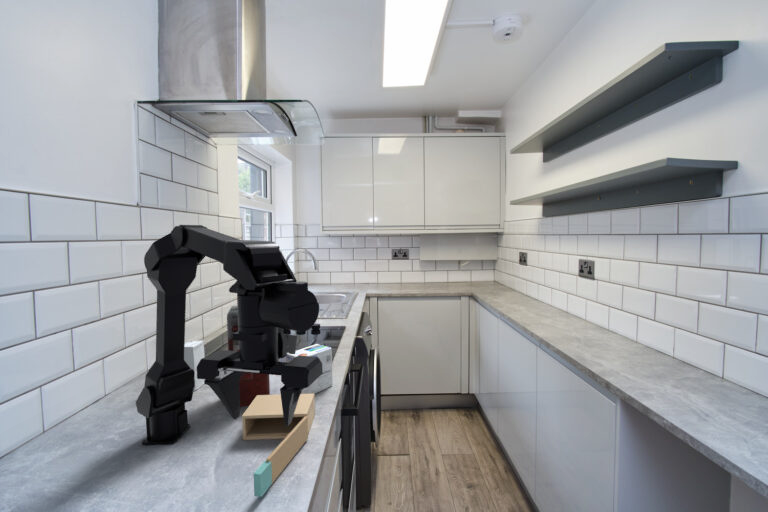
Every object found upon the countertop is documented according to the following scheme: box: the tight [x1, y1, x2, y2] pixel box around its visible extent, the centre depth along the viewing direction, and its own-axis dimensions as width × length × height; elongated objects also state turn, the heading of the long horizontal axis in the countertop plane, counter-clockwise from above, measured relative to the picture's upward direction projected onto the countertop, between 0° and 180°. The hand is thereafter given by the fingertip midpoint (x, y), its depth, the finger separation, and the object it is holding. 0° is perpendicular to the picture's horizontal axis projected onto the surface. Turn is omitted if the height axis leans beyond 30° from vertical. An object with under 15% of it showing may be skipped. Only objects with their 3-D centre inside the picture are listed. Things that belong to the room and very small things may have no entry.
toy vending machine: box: [226, 305, 271, 408], centre depth 86 cm, size 9×11×28 cm
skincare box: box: [184, 340, 206, 392], centre depth 94 cm, size 6×4×12 cm
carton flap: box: [253, 417, 309, 498], centre depth 60 cm, size 16×1×4 cm, turn 166°
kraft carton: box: [241, 393, 316, 441], centre depth 73 cm, size 13×9×5 cm
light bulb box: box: [285, 343, 333, 394], centre depth 91 cm, size 11×7×11 cm, turn 141°
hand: (261, 421), depth 53 cm, fingers open, 9 cm apart
